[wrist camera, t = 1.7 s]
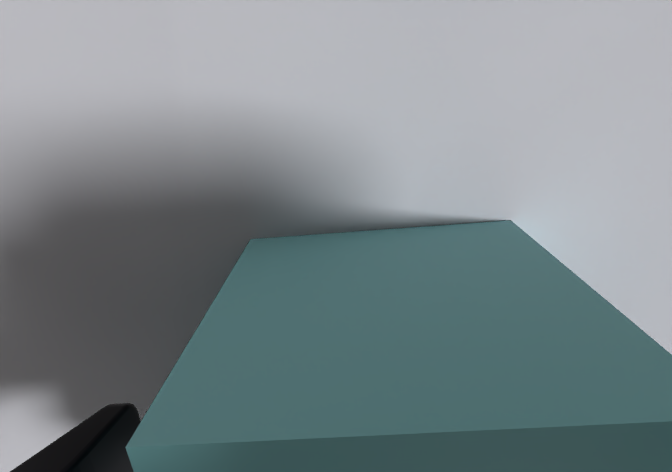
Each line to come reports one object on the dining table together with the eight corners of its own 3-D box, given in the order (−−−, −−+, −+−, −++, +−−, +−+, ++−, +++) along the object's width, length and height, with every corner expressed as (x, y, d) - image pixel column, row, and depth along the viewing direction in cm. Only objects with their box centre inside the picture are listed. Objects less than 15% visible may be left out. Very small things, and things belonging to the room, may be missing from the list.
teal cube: (496, 421, 10) (638, 742, 5) (283, 432, 10) (228, 748, 5) (508, 219, 8) (747, 418, 3) (251, 237, 8) (125, 446, 3)
